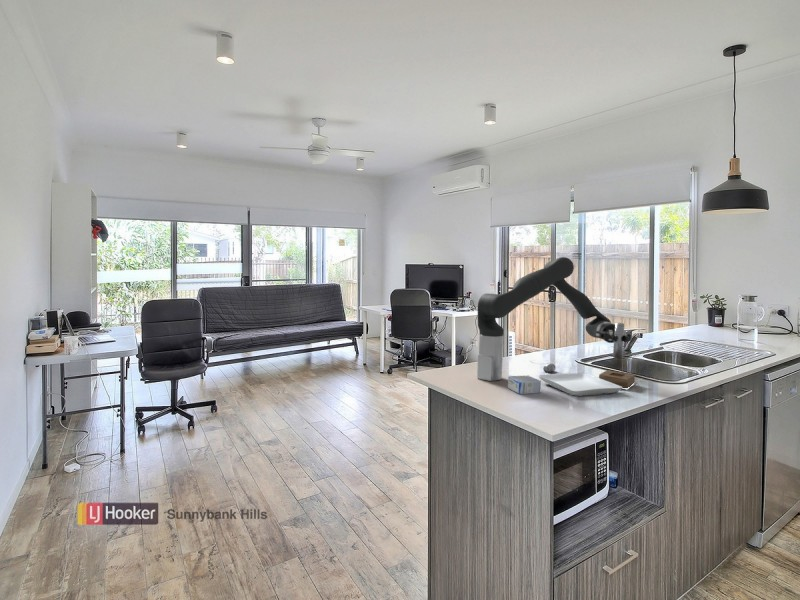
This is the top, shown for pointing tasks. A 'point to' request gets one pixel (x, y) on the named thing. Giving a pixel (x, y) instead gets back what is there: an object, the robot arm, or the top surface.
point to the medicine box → (524, 384)
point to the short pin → (549, 368)
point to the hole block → (618, 378)
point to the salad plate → (580, 384)
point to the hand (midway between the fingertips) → (621, 339)
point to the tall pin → (618, 340)
